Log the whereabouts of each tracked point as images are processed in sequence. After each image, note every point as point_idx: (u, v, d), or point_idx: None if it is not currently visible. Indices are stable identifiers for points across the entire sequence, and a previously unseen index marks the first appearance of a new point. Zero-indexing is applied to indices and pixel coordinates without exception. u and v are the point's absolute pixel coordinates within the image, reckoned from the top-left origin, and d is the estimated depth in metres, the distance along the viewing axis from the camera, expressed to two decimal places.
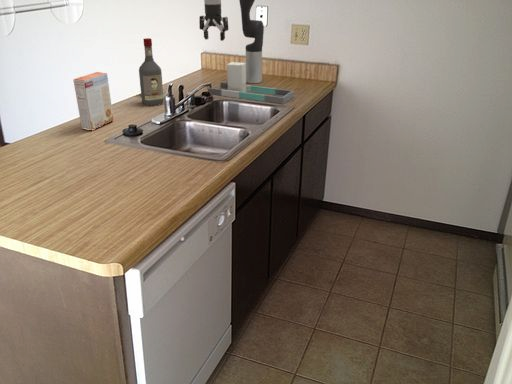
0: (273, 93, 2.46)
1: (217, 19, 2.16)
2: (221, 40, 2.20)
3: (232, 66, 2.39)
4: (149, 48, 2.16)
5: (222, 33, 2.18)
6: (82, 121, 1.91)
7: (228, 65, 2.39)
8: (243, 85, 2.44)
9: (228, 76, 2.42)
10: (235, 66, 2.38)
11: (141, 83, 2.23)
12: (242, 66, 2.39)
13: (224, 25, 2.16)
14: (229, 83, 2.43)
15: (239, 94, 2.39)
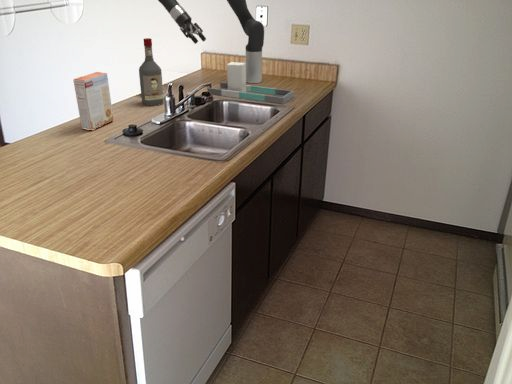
0: (273, 93, 2.46)
1: None
2: (195, 43, 2.41)
3: (232, 66, 2.39)
4: (149, 48, 2.16)
5: (191, 38, 2.40)
6: (82, 121, 1.91)
7: (228, 65, 2.39)
8: (243, 85, 2.44)
9: (228, 76, 2.42)
10: (235, 66, 2.38)
11: (141, 83, 2.23)
12: (242, 66, 2.39)
13: None
14: (229, 83, 2.43)
15: (239, 94, 2.39)
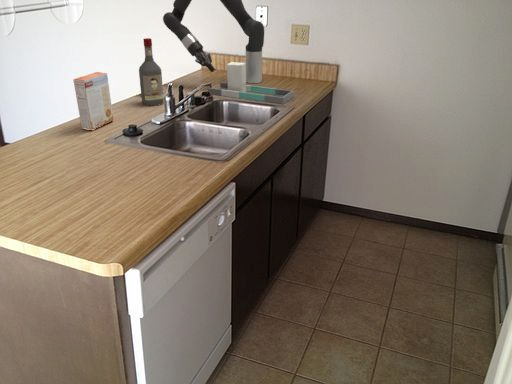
0: (273, 93, 2.46)
1: None
2: (211, 71, 2.48)
3: (232, 66, 2.39)
4: (149, 48, 2.16)
5: None
6: (82, 121, 1.91)
7: (228, 65, 2.39)
8: (243, 85, 2.44)
9: (228, 76, 2.42)
10: (235, 66, 2.38)
11: (141, 83, 2.23)
12: (242, 66, 2.39)
13: None
14: (229, 83, 2.43)
15: (239, 94, 2.39)
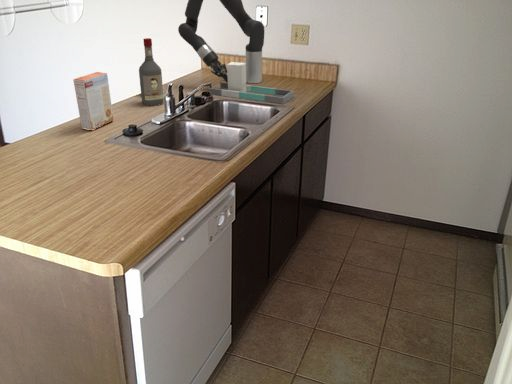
0: (273, 93, 2.46)
1: None
2: (227, 82, 2.47)
3: (232, 66, 2.39)
4: (149, 48, 2.16)
5: (223, 77, 2.46)
6: (82, 121, 1.91)
7: (228, 65, 2.39)
8: (243, 85, 2.43)
9: (228, 76, 2.42)
10: (235, 66, 2.38)
11: (141, 83, 2.23)
12: (243, 66, 2.39)
13: None
14: (229, 83, 2.43)
15: (239, 94, 2.39)
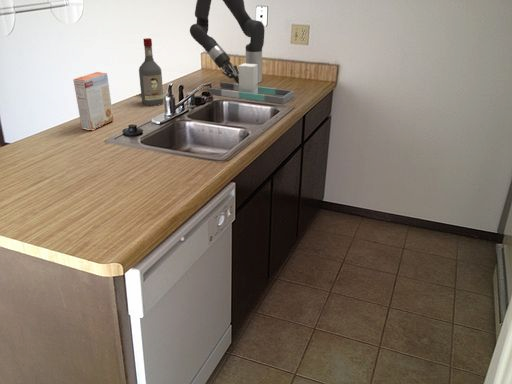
0: (273, 93, 2.46)
1: None
2: None
3: (244, 67, 2.36)
4: (149, 48, 2.16)
5: None
6: (82, 121, 1.91)
7: (240, 66, 2.37)
8: (254, 87, 2.41)
9: (239, 77, 2.39)
10: (246, 67, 2.36)
11: (141, 83, 2.23)
12: (254, 68, 2.36)
13: None
14: (240, 84, 2.41)
15: (239, 94, 2.39)
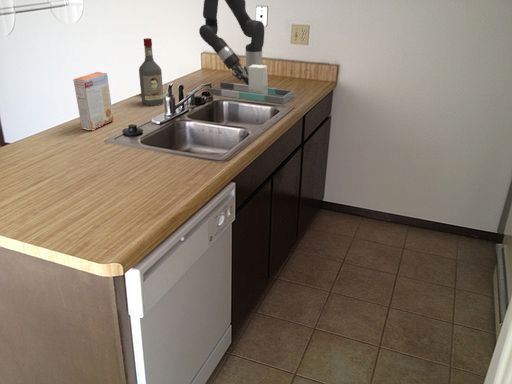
0: (273, 93, 2.46)
1: None
2: None
3: (253, 69, 2.34)
4: (149, 48, 2.16)
5: (244, 80, 2.41)
6: (82, 121, 1.91)
7: (249, 67, 2.35)
8: (264, 88, 2.38)
9: (249, 79, 2.37)
10: (256, 69, 2.33)
11: (141, 83, 2.23)
12: (264, 69, 2.34)
13: None
14: (250, 86, 2.39)
15: (239, 94, 2.39)
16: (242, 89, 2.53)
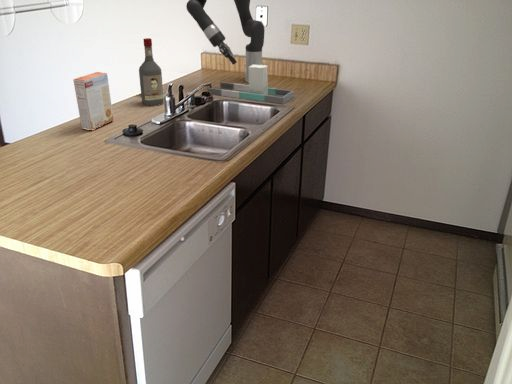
0: (273, 93, 2.46)
1: None
2: (233, 64, 2.42)
3: (253, 69, 2.34)
4: (149, 48, 2.16)
5: (229, 59, 2.41)
6: (82, 121, 1.91)
7: (250, 67, 2.35)
8: (264, 88, 2.38)
9: (249, 79, 2.37)
10: (256, 69, 2.33)
11: (141, 83, 2.23)
12: (264, 69, 2.34)
13: None
14: (250, 86, 2.39)
15: (239, 94, 2.39)
16: (242, 89, 2.53)
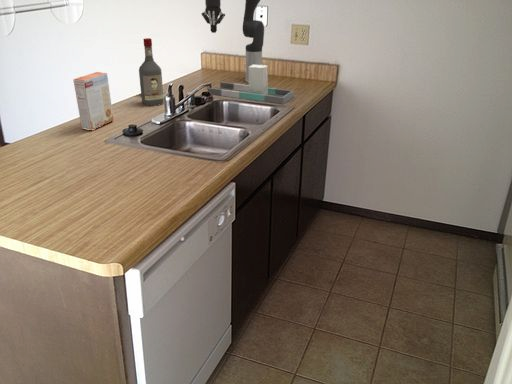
0: (273, 93, 2.46)
1: (216, 13, 2.37)
2: (213, 32, 2.42)
3: (253, 69, 2.34)
4: (149, 48, 2.16)
5: (214, 26, 2.41)
6: (82, 121, 1.91)
7: (250, 67, 2.35)
8: (264, 88, 2.38)
9: (249, 79, 2.37)
10: (256, 69, 2.33)
11: (141, 83, 2.23)
12: (264, 69, 2.34)
13: (218, 19, 2.38)
14: (250, 86, 2.39)
15: (239, 94, 2.39)
16: (242, 89, 2.53)
